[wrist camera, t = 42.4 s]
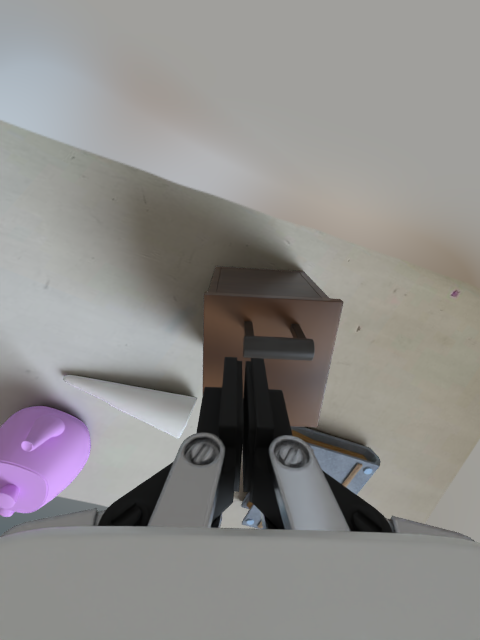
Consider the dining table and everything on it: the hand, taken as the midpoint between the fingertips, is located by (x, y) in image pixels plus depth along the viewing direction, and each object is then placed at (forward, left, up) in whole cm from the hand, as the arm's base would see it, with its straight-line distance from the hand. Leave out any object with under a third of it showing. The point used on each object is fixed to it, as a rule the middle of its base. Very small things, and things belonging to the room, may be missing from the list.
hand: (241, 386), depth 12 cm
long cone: (+20, -15, -27) cm, 37 cm away
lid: (+7, +3, -13) cm, 15 cm away
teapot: (+29, -28, -27) cm, 48 cm away
